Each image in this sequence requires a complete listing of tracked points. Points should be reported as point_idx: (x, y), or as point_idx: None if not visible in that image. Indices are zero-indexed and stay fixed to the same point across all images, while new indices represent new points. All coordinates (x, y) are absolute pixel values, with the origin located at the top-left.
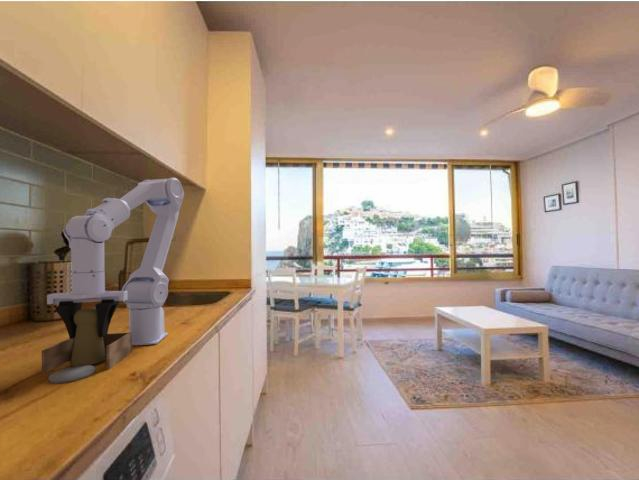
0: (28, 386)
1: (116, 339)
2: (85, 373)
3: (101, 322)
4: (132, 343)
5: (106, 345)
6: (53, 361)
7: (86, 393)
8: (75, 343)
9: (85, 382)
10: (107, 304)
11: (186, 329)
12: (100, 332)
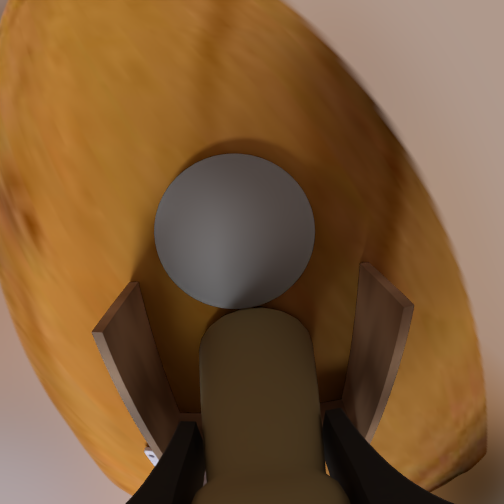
0: (339, 142)
1: None
2: (164, 213)
3: (160, 481)
4: None
5: None
6: (365, 322)
7: (81, 74)
8: (299, 384)
9: (132, 156)
10: None
11: None
12: (180, 436)
